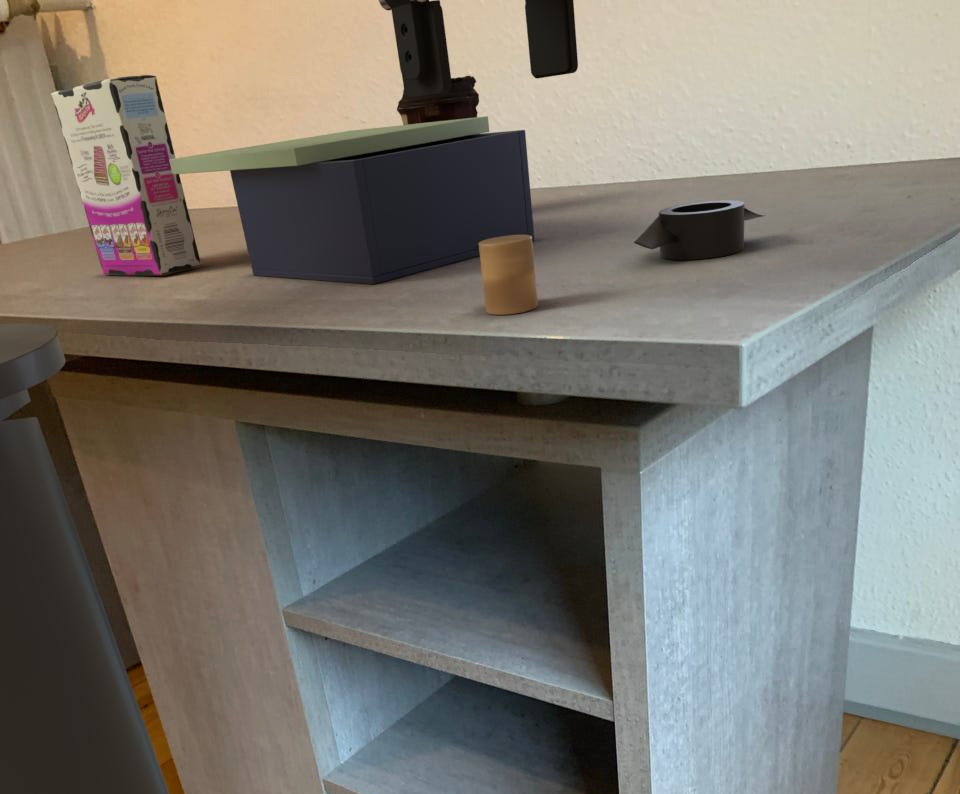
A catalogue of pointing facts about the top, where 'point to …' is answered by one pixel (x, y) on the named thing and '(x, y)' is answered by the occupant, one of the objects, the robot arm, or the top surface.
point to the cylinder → (508, 274)
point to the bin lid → (329, 146)
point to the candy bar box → (127, 176)
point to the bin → (385, 209)
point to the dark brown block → (441, 104)
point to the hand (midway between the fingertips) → (494, 84)
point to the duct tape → (698, 230)
